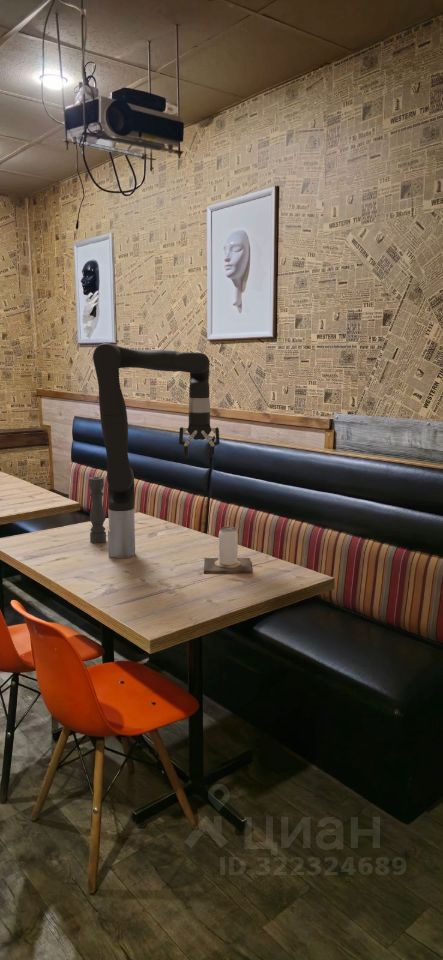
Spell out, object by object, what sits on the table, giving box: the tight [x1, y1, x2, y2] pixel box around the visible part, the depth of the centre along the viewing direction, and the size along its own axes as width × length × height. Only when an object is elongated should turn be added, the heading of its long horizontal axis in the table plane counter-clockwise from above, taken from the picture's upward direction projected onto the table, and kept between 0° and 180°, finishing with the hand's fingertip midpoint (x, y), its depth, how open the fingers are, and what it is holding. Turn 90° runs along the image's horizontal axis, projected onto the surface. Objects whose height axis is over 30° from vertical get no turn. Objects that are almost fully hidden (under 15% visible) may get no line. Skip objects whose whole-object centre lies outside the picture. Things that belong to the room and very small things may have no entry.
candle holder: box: [88, 476, 107, 544], centre depth 258 cm, size 6×6×25 cm
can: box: [218, 526, 239, 565], centre depth 228 cm, size 6×6×12 cm
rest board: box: [203, 557, 253, 574], centre depth 229 cm, size 16×14×1 cm
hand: (199, 456), depth 237 cm, fingers open, 8 cm apart
